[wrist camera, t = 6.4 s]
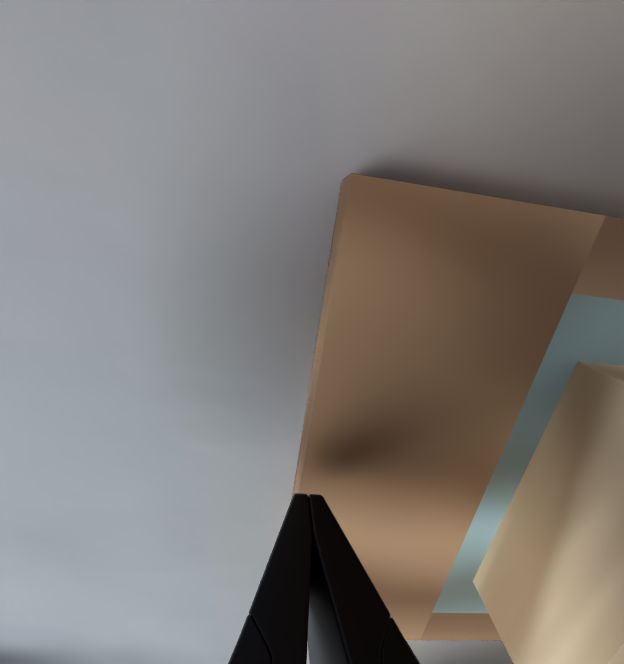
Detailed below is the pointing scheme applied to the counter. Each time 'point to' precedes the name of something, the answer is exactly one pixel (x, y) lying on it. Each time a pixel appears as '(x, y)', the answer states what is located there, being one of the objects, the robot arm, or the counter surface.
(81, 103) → the counter surface
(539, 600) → the t block
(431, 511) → the push board
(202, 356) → the counter surface
